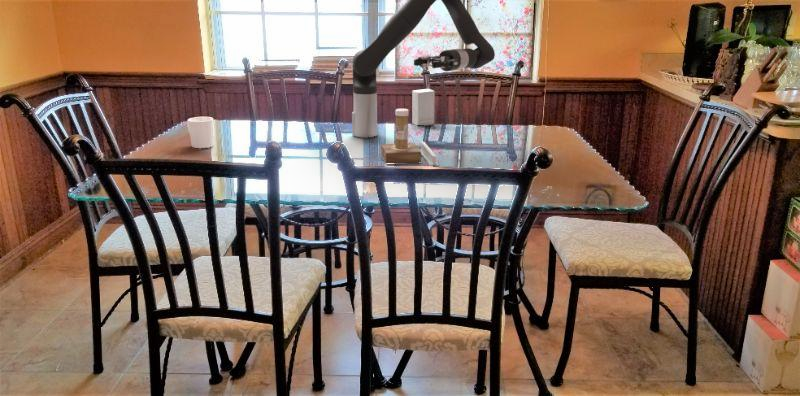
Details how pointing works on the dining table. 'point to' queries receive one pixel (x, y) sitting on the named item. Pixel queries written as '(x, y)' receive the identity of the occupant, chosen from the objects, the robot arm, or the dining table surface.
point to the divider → (428, 154)
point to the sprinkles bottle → (401, 128)
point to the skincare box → (423, 107)
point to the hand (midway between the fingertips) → (423, 63)
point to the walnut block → (400, 154)
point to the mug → (201, 132)
